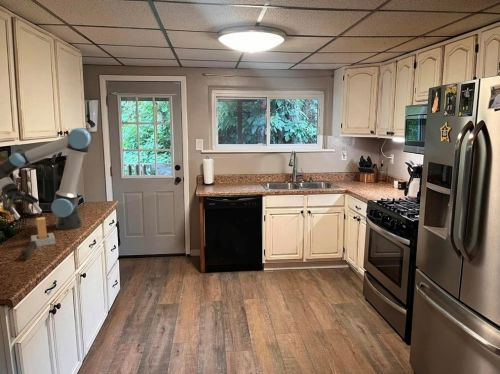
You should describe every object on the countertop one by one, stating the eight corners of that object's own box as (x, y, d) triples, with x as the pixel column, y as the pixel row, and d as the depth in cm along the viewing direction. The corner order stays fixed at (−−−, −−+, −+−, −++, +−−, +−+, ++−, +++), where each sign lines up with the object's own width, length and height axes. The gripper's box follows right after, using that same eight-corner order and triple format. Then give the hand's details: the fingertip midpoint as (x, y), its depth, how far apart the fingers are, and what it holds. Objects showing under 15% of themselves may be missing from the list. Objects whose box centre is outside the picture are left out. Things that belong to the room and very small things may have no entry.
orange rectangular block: (46, 241, 213) (44, 217, 210) (47, 243, 210) (45, 218, 207) (38, 242, 211) (36, 218, 208) (39, 244, 207) (37, 219, 205)
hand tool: (28, 249, 200) (27, 241, 199) (37, 248, 201) (36, 240, 200) (19, 262, 182) (18, 253, 182) (28, 261, 184) (27, 252, 183)
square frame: (53, 238, 218) (52, 232, 217) (55, 243, 209) (54, 237, 208) (31, 241, 212) (30, 235, 211) (32, 247, 203) (32, 240, 202)
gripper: (25, 187, 226) (45, 214, 223) (-17, 195, 203) (5, 225, 200) (30, 179, 223) (51, 206, 220) (-12, 186, 200) (11, 216, 197)
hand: (29, 215), depth 210 cm, fingers open, 13 cm apart
